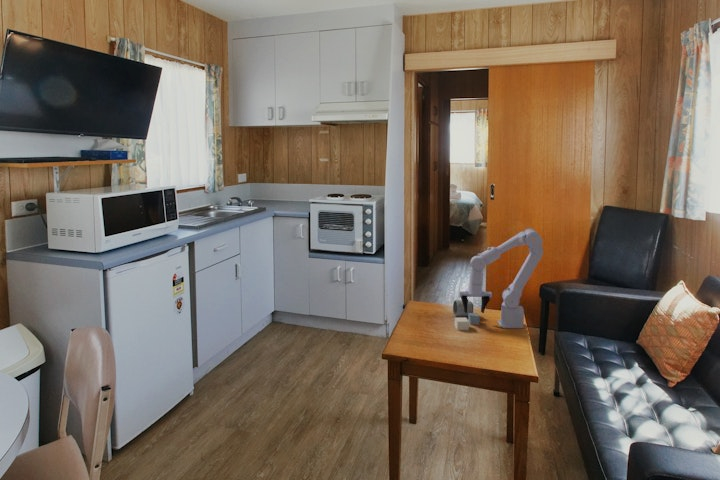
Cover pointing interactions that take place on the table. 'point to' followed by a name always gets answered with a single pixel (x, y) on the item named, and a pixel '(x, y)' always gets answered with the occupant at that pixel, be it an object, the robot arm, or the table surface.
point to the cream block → (461, 323)
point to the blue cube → (473, 318)
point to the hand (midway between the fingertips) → (473, 312)
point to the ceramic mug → (461, 308)
